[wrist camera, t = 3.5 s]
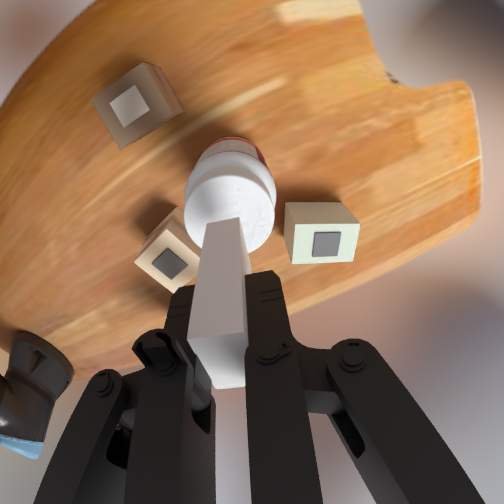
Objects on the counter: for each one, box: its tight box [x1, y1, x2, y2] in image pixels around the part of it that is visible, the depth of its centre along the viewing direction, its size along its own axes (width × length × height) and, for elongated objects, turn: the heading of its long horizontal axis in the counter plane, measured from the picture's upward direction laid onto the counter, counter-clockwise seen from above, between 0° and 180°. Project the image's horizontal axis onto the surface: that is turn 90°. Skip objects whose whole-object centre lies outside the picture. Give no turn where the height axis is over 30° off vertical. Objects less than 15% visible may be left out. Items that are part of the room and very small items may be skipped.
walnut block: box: [91, 62, 185, 150], centre depth 19 cm, size 5×5×5 cm
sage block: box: [284, 202, 360, 264], centre depth 26 cm, size 6×4×5 cm, turn 90°
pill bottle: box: [184, 137, 276, 253], centre depth 20 cm, size 6×6×11 cm
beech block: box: [134, 206, 202, 294], centre depth 26 cm, size 5×5×5 cm
